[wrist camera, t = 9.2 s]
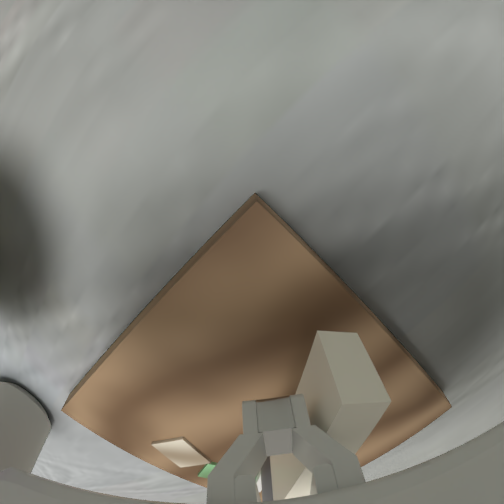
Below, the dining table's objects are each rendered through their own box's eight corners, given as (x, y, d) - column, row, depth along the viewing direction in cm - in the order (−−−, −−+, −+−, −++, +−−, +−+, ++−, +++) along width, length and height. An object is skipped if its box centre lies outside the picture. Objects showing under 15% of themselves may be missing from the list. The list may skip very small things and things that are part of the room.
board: (442, 392, 21) (453, 409, 19) (268, 492, 27) (269, 508, 24) (255, 192, 15) (257, 202, 13) (69, 394, 20) (59, 412, 18)
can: (3, 364, 19) (-57, 453, 8) (63, 415, 21) (21, 513, 10) (-7, 391, 21) (-53, 464, 10) (44, 433, 23) (9, 512, 12)
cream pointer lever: (270, 483, 22) (275, 544, 15) (241, 482, 21) (242, 544, 15) (347, 301, 14) (401, 400, 8) (297, 296, 14) (330, 404, 8)
